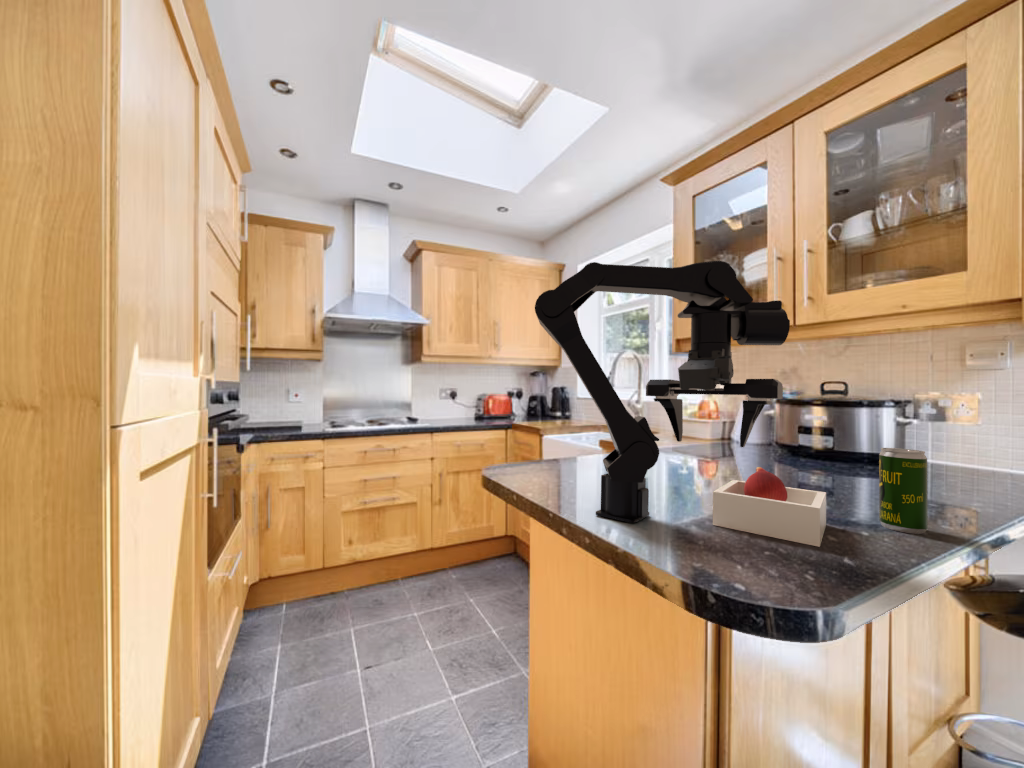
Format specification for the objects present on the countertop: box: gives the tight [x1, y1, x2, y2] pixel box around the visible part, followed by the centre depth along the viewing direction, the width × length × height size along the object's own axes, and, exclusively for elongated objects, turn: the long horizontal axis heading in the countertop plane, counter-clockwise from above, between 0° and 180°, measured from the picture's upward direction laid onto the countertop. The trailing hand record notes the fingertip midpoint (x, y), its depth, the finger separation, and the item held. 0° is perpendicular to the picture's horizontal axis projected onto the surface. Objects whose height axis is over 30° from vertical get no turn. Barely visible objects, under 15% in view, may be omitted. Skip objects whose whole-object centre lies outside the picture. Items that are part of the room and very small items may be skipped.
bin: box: [712, 479, 827, 548], centre depth 63 cm, size 13×13×5 cm
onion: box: [744, 466, 787, 502], centre depth 66 cm, size 6×6×8 cm
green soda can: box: [878, 447, 929, 535], centre depth 63 cm, size 5×5×12 cm
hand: (709, 444), depth 64 cm, fingers open, 9 cm apart
